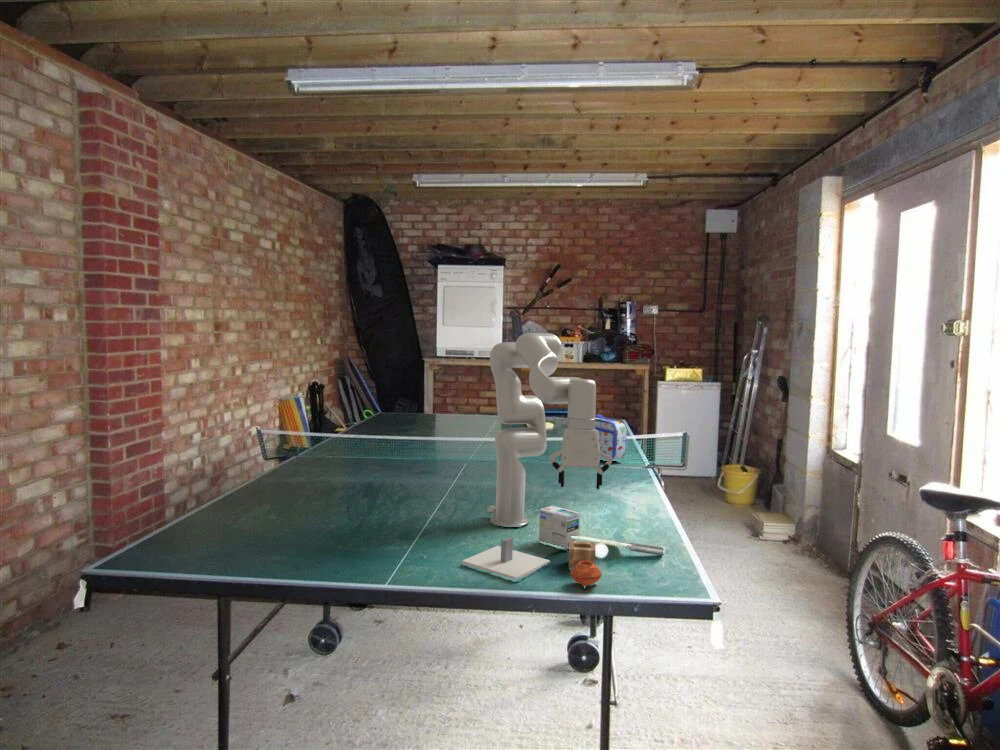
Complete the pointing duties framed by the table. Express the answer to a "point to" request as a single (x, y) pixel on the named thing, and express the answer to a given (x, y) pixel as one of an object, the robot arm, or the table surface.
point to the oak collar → (581, 552)
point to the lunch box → (611, 436)
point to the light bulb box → (558, 525)
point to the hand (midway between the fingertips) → (580, 487)
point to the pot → (585, 573)
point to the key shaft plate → (506, 568)
